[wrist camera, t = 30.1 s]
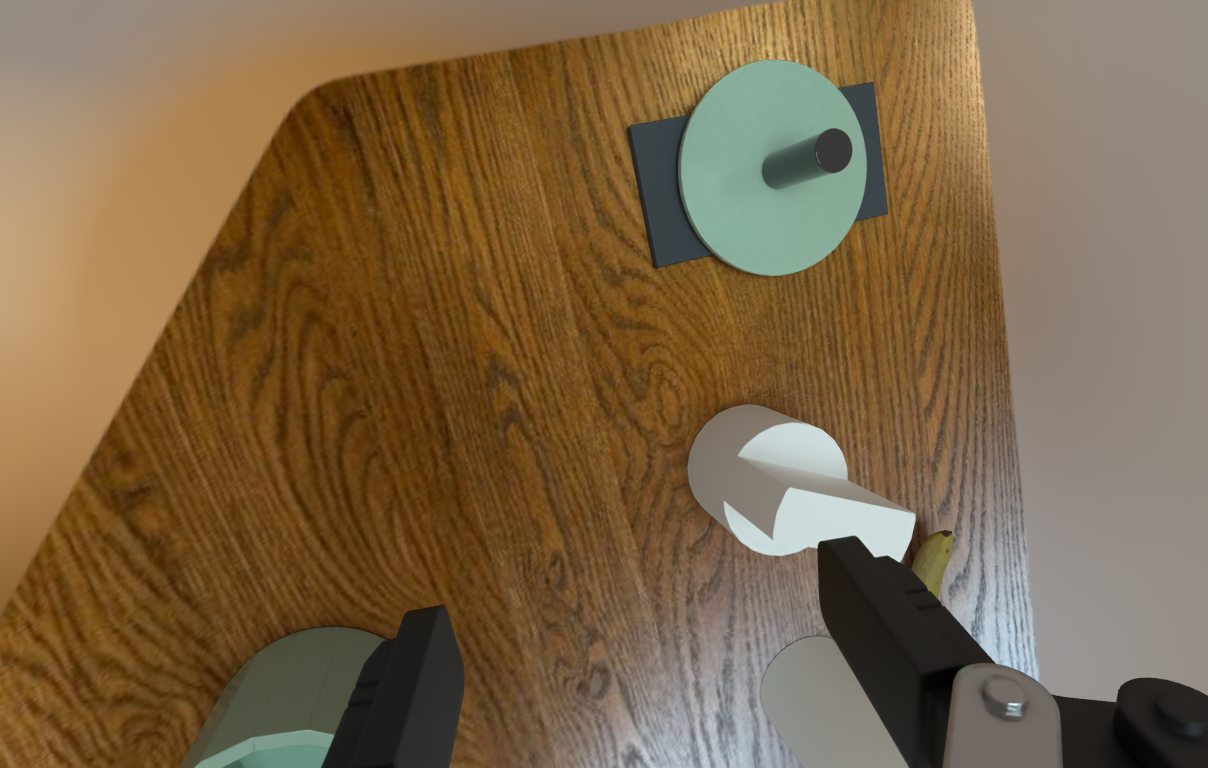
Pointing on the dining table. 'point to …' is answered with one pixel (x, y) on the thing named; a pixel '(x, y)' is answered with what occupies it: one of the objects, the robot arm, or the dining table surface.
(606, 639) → the dining table surface
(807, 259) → the lid
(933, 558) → the banana
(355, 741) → the robot arm
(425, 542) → the dining table surface
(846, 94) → the mat
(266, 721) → the pot
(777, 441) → the base with upright slab
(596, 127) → the dining table surface
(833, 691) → the container
